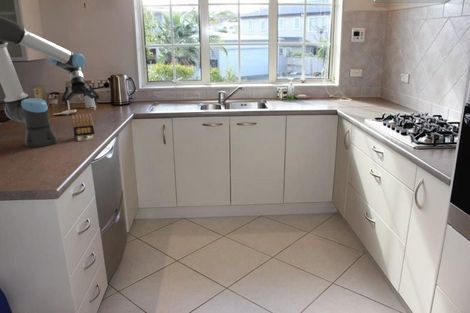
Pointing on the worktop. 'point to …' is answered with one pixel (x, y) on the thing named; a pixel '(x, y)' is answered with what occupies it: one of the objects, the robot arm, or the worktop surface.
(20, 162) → the worktop surface
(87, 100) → the glass holder
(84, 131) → the ammunition clip
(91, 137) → the plate
